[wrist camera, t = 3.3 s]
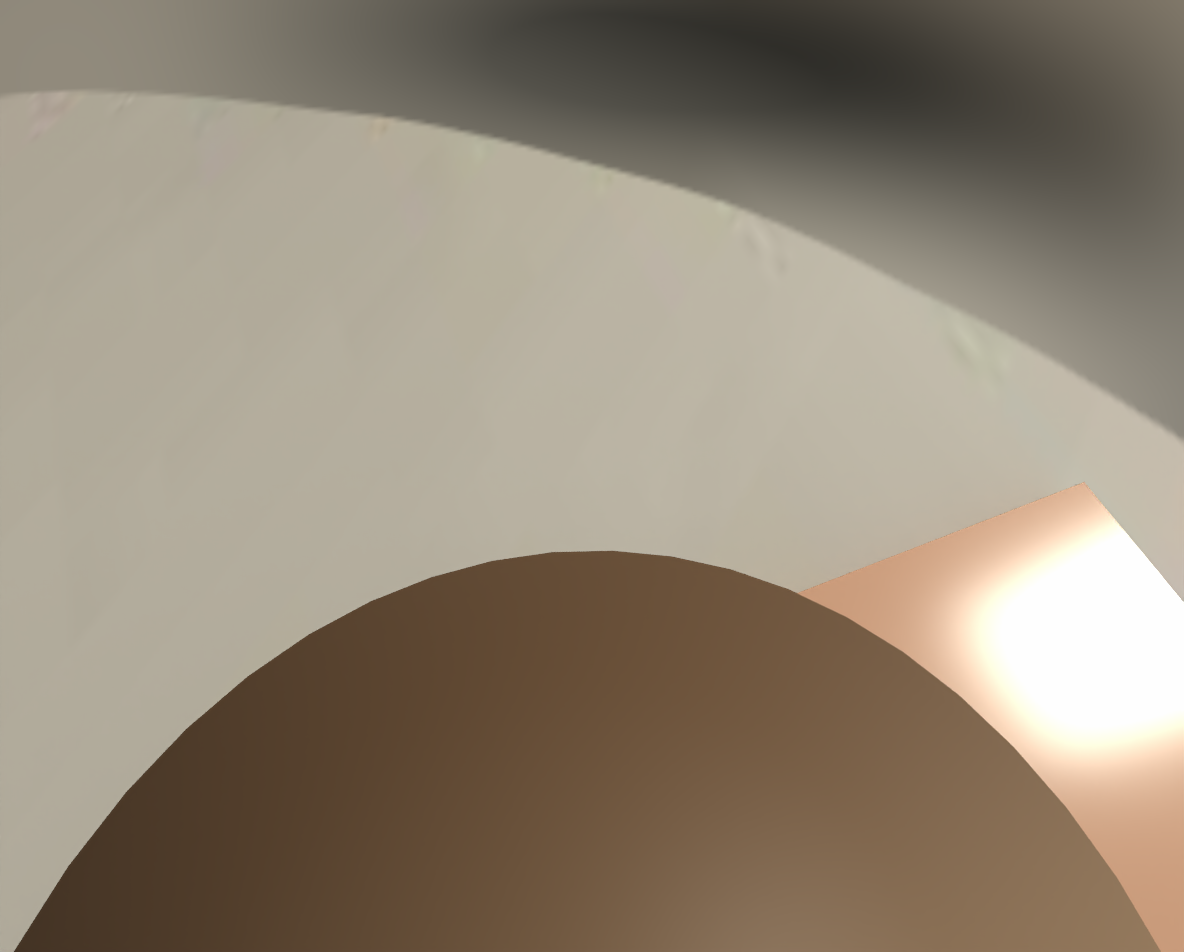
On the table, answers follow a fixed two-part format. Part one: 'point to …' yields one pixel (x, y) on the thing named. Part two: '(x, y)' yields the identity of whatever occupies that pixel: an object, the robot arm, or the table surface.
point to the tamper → (590, 788)
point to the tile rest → (1057, 670)
